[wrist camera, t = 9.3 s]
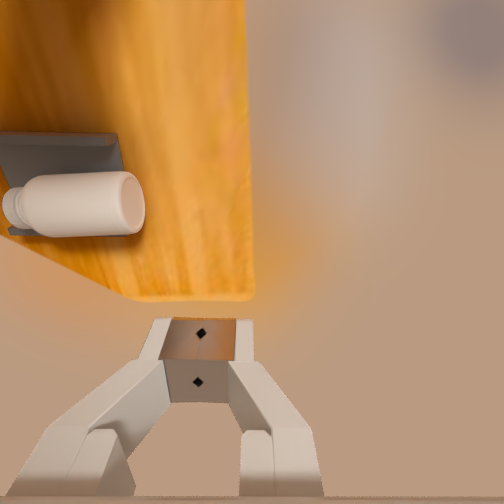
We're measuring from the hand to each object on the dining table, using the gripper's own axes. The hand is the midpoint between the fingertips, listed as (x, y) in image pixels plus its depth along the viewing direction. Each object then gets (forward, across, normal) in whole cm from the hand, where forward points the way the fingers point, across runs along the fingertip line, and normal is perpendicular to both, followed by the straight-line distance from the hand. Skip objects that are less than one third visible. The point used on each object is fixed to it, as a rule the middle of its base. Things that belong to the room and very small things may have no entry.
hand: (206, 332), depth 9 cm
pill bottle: (+28, +13, +6) cm, 31 cm away
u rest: (+32, +24, +5) cm, 40 cm away
